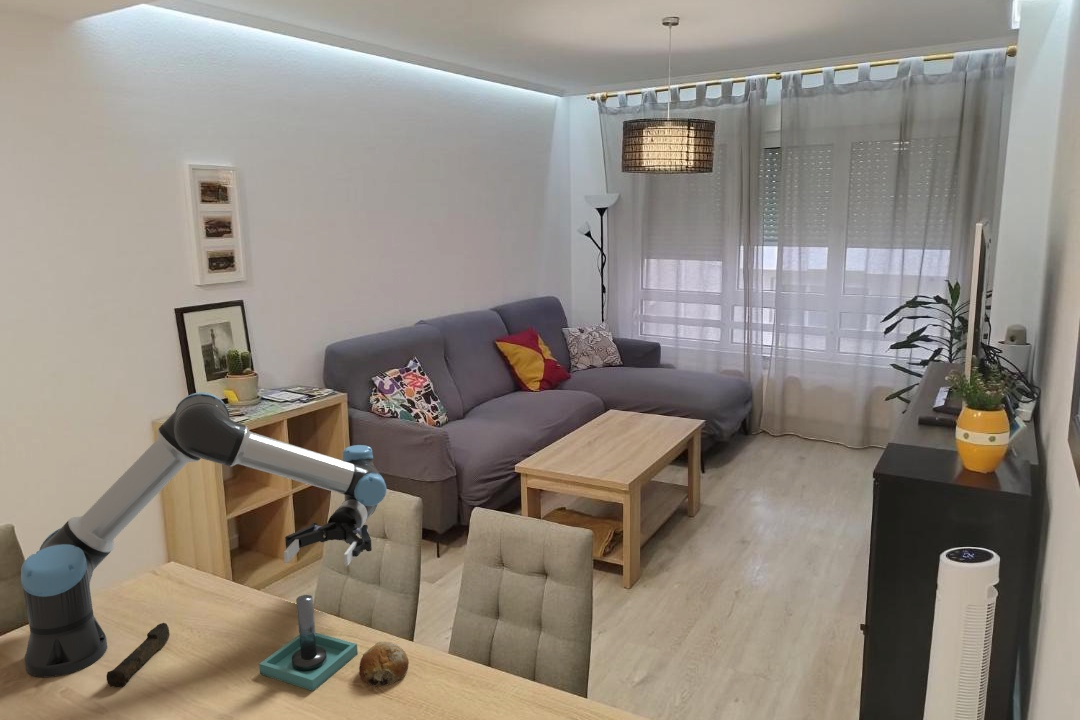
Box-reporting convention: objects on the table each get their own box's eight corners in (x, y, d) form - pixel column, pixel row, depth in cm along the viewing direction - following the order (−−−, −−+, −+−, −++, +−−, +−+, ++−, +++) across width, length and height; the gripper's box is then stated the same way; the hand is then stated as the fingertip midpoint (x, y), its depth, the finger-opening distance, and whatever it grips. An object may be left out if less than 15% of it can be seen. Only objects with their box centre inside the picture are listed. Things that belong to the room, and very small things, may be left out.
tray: (260, 674, 160) (259, 663, 160) (306, 639, 173) (305, 629, 172) (313, 691, 155) (312, 680, 154) (357, 654, 167) (356, 643, 166)
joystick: (284, 666, 162) (279, 603, 159) (307, 649, 168) (302, 587, 165) (311, 674, 159) (306, 610, 156) (333, 656, 165) (329, 594, 162)
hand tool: (124, 690, 156) (122, 669, 155) (106, 688, 157) (103, 667, 156) (180, 638, 174) (178, 619, 174) (164, 637, 175) (162, 618, 174)
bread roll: (413, 687, 161) (422, 648, 163) (382, 693, 152) (392, 651, 154) (377, 673, 166) (386, 635, 168) (345, 678, 157) (355, 637, 159)
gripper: (397, 536, 191) (371, 577, 171) (299, 532, 193) (262, 571, 173) (396, 508, 190) (370, 545, 169) (297, 504, 192) (259, 540, 171)
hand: (315, 558), depth 171 cm, fingers open, 13 cm apart
